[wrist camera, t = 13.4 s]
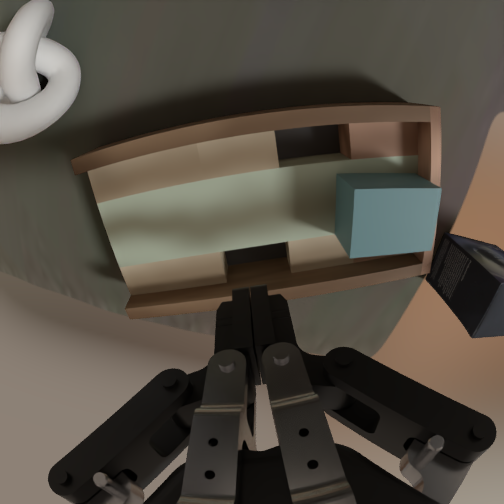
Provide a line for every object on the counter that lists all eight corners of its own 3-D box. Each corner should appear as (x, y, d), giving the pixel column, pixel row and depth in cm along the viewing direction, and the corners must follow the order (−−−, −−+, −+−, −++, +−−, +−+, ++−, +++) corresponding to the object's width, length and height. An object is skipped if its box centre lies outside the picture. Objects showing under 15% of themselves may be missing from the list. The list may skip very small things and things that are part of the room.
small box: (498, 242, 29) (550, 287, 20) (478, 285, 32) (522, 336, 23) (444, 228, 28) (504, 282, 19) (423, 280, 31) (470, 342, 22)
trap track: (98, 147, 23) (70, 160, 18) (408, 102, 22) (440, 106, 17) (143, 287, 30) (129, 319, 25) (406, 247, 29) (429, 273, 24)
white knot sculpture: (125, 74, 20) (71, 67, 12) (37, 162, 23) (-24, 193, 15) (67, -5, 15) (10, -27, 7) (-10, 85, 18) (-72, 96, 10)
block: (336, 173, 22) (354, 189, 18) (415, 173, 22) (441, 188, 18) (334, 233, 24) (349, 258, 21) (408, 228, 24) (431, 250, 21)
